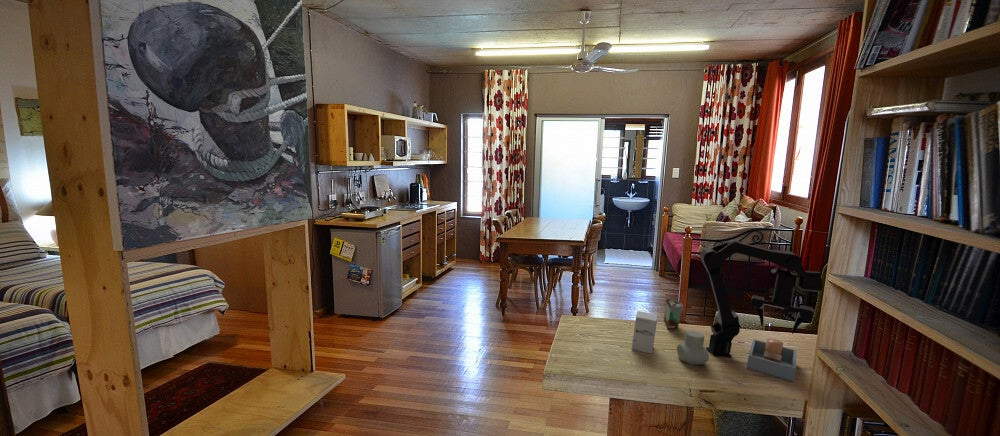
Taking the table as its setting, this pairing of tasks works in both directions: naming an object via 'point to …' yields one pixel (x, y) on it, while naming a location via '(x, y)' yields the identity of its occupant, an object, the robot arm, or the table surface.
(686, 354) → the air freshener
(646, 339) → the supplement box
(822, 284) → the robot arm
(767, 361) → the tote
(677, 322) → the food container
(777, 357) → the walnut cube
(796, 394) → the table surface
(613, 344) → the table surface
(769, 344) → the terracotta capsule
